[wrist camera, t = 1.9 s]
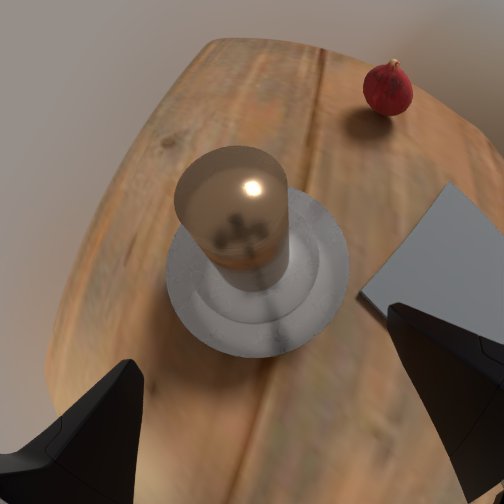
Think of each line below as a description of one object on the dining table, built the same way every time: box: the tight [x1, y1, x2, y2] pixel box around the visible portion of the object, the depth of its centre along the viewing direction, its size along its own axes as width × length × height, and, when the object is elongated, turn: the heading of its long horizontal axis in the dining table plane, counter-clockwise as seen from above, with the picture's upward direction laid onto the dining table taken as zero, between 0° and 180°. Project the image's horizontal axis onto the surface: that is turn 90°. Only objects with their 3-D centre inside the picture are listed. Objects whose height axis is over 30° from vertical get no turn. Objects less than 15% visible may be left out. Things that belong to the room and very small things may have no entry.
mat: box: [359, 181, 504, 344], centre depth 19 cm, size 16×16×1 cm
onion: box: [363, 59, 413, 116], centre depth 24 cm, size 6×6×8 cm
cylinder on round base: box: [166, 146, 350, 358], centre depth 15 cm, size 12×12×9 cm
